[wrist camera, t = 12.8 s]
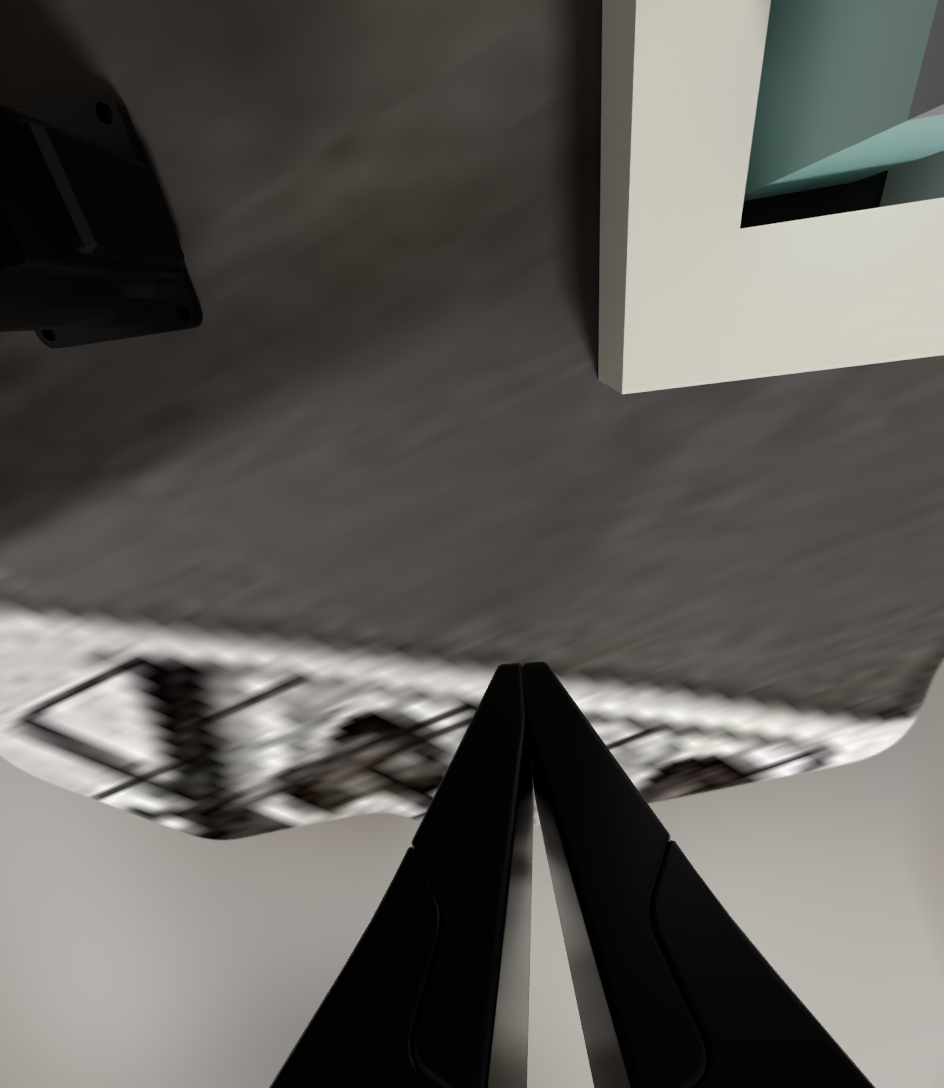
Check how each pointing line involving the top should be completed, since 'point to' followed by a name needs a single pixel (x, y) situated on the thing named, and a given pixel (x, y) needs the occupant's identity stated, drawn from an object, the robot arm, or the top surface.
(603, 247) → the socket plate
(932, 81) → the plug
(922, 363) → the top surface
